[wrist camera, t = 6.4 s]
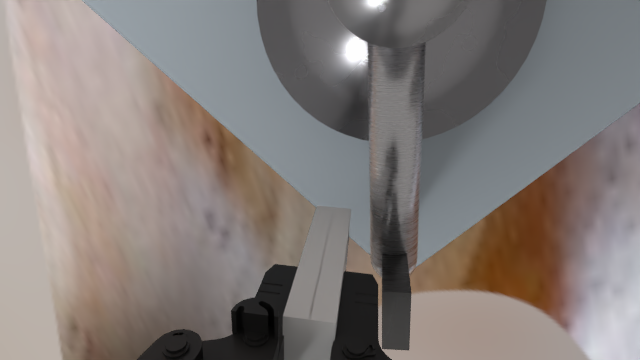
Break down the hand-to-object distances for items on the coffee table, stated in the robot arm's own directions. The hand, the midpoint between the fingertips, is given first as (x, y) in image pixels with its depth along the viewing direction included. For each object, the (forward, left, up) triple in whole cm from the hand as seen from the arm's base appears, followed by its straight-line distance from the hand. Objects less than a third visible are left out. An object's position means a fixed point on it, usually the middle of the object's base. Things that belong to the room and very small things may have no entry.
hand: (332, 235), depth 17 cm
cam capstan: (+8, +4, -3) cm, 9 cm away
